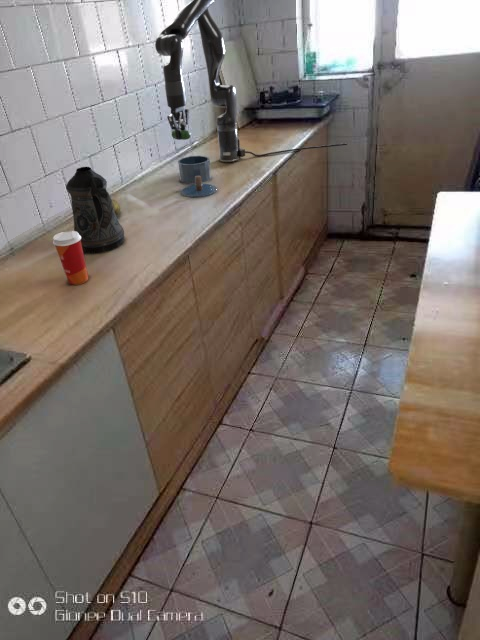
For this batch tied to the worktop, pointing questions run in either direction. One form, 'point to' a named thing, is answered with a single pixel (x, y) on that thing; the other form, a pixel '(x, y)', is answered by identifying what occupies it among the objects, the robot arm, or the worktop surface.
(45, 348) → the worktop surface
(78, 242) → the paper cup
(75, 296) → the worktop surface
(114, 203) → the potato
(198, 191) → the lid
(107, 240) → the beer stein
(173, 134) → the cucumber
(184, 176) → the pot
